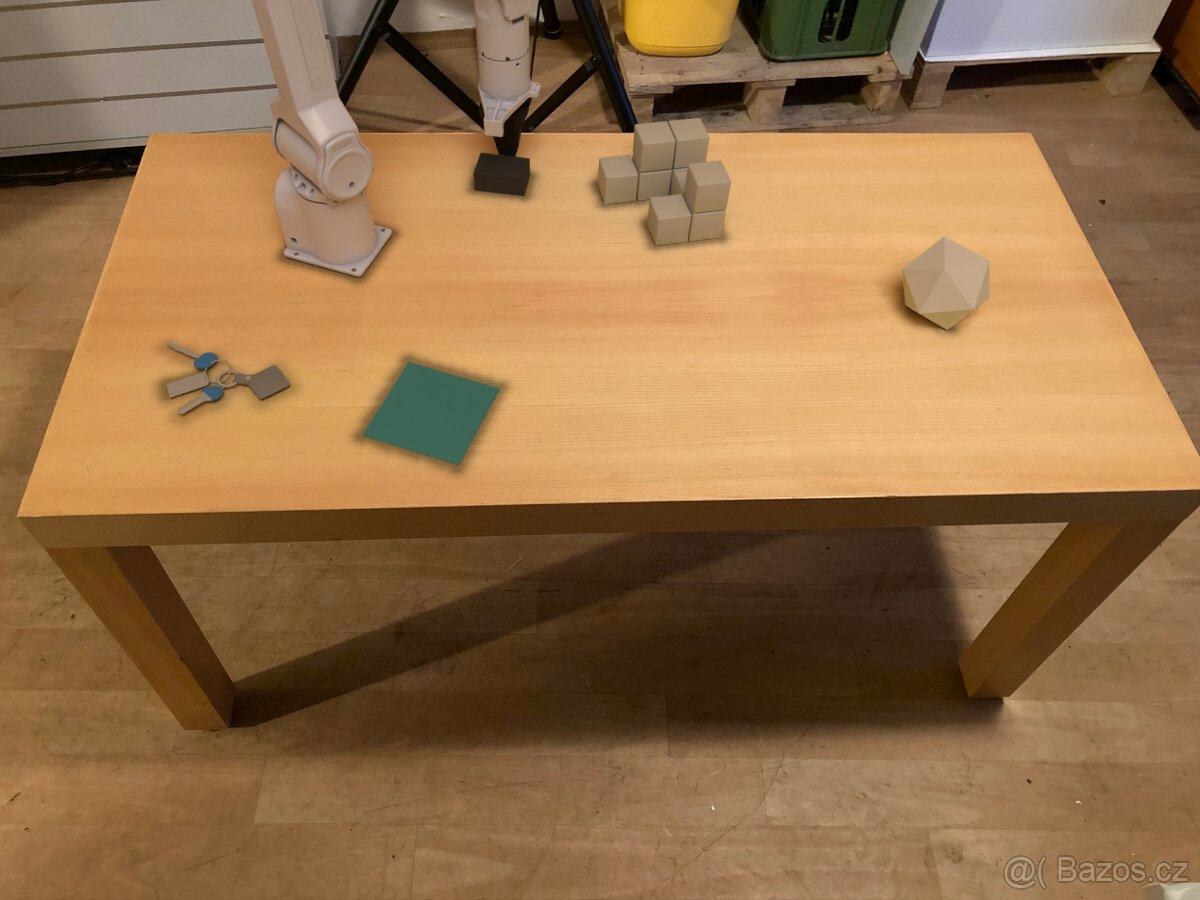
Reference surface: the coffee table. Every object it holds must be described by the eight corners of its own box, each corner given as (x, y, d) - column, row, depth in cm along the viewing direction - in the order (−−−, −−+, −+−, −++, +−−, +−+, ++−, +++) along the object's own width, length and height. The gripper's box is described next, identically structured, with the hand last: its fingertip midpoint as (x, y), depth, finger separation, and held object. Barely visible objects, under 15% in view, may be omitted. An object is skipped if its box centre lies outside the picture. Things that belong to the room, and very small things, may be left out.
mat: (362, 435, 87) (362, 435, 87) (408, 362, 92) (408, 361, 92) (459, 465, 85) (459, 465, 85) (500, 388, 91) (500, 388, 91)
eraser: (474, 190, 109) (473, 172, 107) (481, 169, 111) (480, 152, 109) (524, 196, 108) (523, 178, 106) (530, 175, 111) (529, 158, 109)
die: (989, 318, 100) (987, 225, 97) (991, 336, 93) (989, 237, 90) (907, 323, 104) (903, 234, 101) (903, 342, 96) (899, 246, 93)
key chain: (298, 373, 91) (296, 367, 90) (260, 436, 86) (258, 431, 85) (170, 344, 92) (167, 338, 92) (125, 405, 87) (122, 399, 87)
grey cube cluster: (597, 184, 110) (600, 127, 104) (692, 174, 112) (700, 116, 106) (620, 250, 103) (625, 193, 97) (721, 238, 105) (732, 181, 99)
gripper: (527, 88, 96) (530, 194, 107) (549, 17, 104) (550, 121, 115) (461, 81, 96) (471, 187, 107) (489, 10, 104) (495, 115, 115)
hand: (508, 153), depth 111 cm, fingers closed
